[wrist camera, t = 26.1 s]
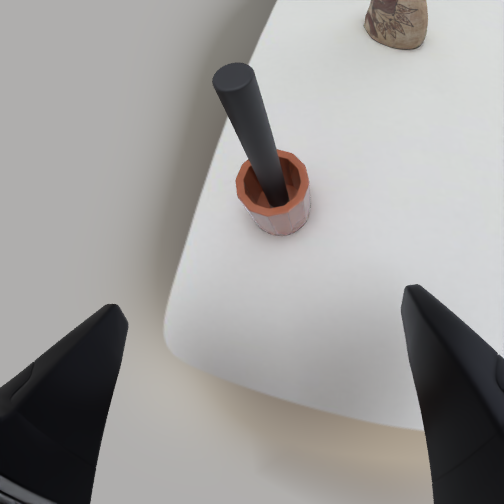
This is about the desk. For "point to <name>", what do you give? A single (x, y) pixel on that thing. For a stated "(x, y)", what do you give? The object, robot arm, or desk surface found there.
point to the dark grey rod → (252, 127)
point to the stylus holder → (280, 217)
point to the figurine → (397, 22)
